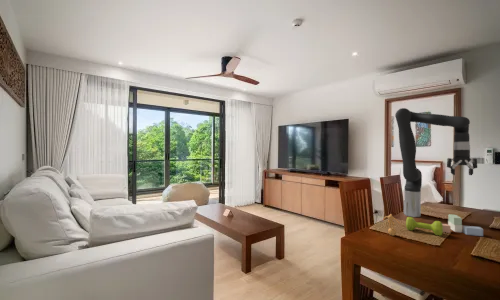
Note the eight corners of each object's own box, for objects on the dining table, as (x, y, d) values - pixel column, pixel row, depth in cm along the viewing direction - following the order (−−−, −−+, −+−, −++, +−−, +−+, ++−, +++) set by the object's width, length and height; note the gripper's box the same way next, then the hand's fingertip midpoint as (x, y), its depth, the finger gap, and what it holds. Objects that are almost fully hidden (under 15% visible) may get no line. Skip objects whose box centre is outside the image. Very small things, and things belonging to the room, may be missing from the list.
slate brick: (466, 234, 124) (466, 227, 124) (463, 232, 127) (463, 225, 127) (483, 236, 122) (483, 229, 122) (479, 234, 125) (479, 226, 125)
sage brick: (454, 224, 129) (454, 217, 129) (448, 220, 135) (448, 214, 135) (461, 225, 127) (461, 218, 127) (455, 221, 134) (455, 214, 134)
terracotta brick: (435, 231, 129) (435, 224, 129) (432, 229, 132) (432, 222, 132) (450, 233, 127) (450, 226, 127) (447, 231, 130) (447, 224, 130)
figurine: (402, 236, 122) (402, 214, 122) (398, 239, 118) (398, 216, 118) (385, 232, 128) (385, 211, 128) (381, 234, 125) (381, 213, 124)
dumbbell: (442, 233, 126) (442, 220, 126) (443, 237, 120) (443, 224, 120) (406, 227, 137) (406, 215, 137) (405, 231, 130) (405, 218, 130)
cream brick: (455, 231, 128) (455, 224, 128) (448, 227, 135) (448, 221, 135) (462, 232, 127) (462, 225, 127) (454, 228, 134) (454, 221, 134)
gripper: (472, 148, 144) (472, 174, 144) (445, 149, 149) (445, 173, 149) (479, 149, 137) (479, 176, 137) (450, 149, 142) (450, 175, 142)
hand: (461, 174), depth 143 cm, fingers open, 8 cm apart
